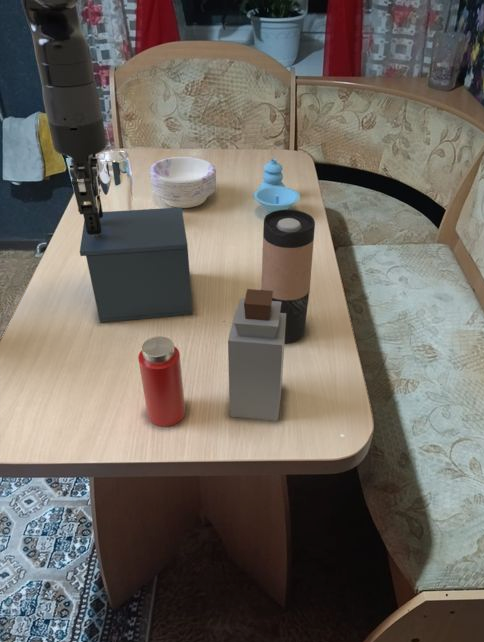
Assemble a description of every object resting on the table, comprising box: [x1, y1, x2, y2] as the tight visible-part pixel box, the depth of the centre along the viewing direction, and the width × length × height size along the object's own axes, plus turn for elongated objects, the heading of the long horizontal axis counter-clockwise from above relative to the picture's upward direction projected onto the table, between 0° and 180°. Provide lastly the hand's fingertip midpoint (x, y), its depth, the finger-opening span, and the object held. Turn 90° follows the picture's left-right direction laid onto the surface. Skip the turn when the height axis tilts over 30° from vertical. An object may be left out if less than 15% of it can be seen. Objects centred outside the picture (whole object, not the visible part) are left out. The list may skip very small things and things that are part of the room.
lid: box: [79, 199, 189, 257], centre depth 88 cm, size 16×14×5 cm
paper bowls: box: [149, 156, 217, 209], centre depth 127 cm, size 15×15×8 cm
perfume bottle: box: [227, 288, 286, 422], centre depth 72 cm, size 7×7×18 cm
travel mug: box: [260, 209, 316, 344], centre depth 85 cm, size 8×8×20 cm
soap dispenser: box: [253, 158, 301, 214], centre depth 125 cm, size 18×10×9 cm, turn 5°
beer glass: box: [96, 149, 135, 212], centre depth 115 cm, size 7×7×15 cm
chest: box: [85, 248, 193, 324], centre depth 94 cm, size 16×14×13 cm
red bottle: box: [137, 336, 186, 428], centre depth 72 cm, size 5×5×12 cm
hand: (95, 224), depth 88 cm, fingers closed on lid, 5 cm apart
